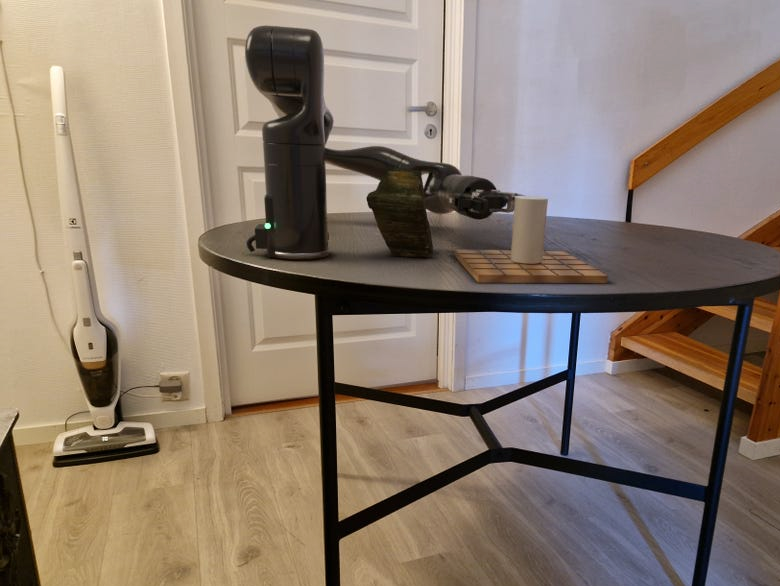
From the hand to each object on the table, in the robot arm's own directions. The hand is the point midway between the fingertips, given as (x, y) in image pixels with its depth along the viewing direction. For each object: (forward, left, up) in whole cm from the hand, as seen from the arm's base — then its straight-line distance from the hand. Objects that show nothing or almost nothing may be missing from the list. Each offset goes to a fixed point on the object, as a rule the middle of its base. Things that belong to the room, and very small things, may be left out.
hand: (508, 206), depth 103 cm
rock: (-17, +4, -9) cm, 20 cm away
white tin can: (+2, -7, -8) cm, 11 cm away
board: (+2, -7, -9) cm, 12 cm away
